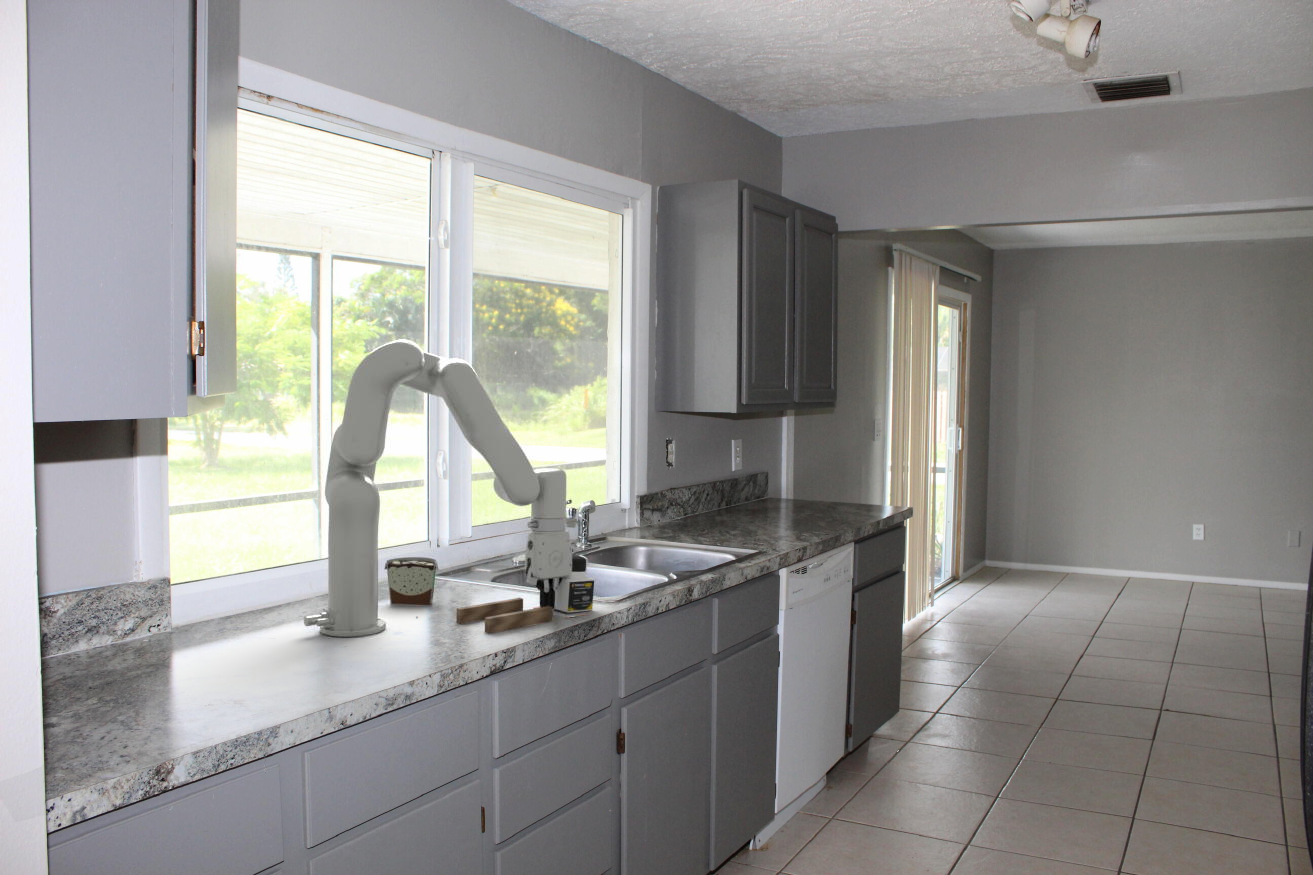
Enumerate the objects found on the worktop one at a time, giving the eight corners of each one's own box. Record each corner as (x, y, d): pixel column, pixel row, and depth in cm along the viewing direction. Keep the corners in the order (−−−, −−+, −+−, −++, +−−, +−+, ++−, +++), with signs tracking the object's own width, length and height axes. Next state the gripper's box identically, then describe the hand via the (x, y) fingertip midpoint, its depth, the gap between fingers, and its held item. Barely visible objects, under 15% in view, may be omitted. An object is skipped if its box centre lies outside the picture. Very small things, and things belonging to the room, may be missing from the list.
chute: (488, 633, 190) (489, 618, 190) (456, 622, 199) (456, 608, 199) (552, 621, 202) (552, 607, 201) (519, 611, 210) (519, 597, 210)
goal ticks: (567, 618, 204) (567, 617, 204) (533, 608, 213) (533, 607, 213) (589, 614, 208) (589, 613, 208) (554, 604, 217) (554, 603, 217)
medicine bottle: (567, 612, 207) (571, 558, 207) (547, 607, 212) (551, 553, 212) (592, 610, 212) (596, 556, 212) (572, 605, 217) (576, 552, 217)
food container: (446, 600, 219) (446, 557, 219) (437, 606, 213) (437, 562, 213) (394, 598, 221) (394, 555, 220) (384, 604, 214) (384, 560, 214)
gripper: (530, 530, 199) (529, 616, 200) (586, 524, 209) (584, 606, 210) (510, 526, 205) (508, 610, 205) (564, 520, 215) (563, 600, 216)
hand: (547, 608), depth 208 cm, fingers closed
